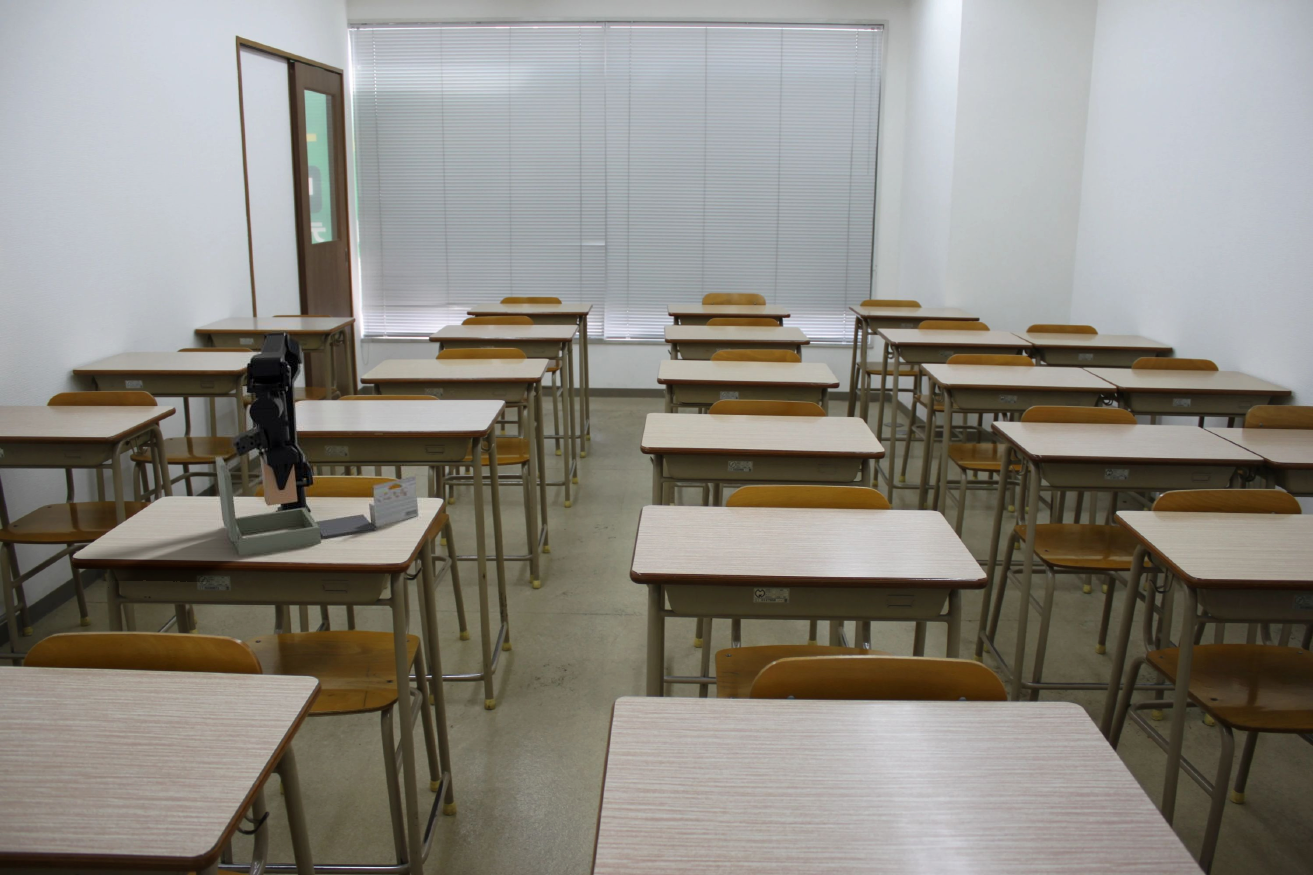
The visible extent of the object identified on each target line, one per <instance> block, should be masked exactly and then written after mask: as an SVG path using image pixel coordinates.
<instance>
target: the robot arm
mask: <svg viewBox="0 0 1313 875" xmlns="http://www.w3.org/2000/svg"><path fill="white" fill-rule="evenodd" d="M263 338H264V340H263V341H262V342H261V346H260V347H261V348H260V349H261V352H260V353H258V354H254V355H253V356H251V358H250V359H249V360H250V361H249V362H247V364H246V393H247V394H254V396H255V397H254V398H255V399H254V401H253V402H252V403H251V405H249V406H250V407H249V410H248V411H249V412H248V414H249V417H250V419H251V421H252V422H253V423H255V427H254V428H252V429H250V430H247V431H245V432H241V433H239V434H238V435H236V436H234V437H233V436H232V438H230V442H231V444H232V446H233V448H234V450H235V452H236V453H237V455H238V456H239V457H242V456H245V455H246V454H247V453H249V452H251V451H253V450H255V449H256V451H258V450H260V449H261V451H258V452H257V454H258V455H259V457H260V456H263V454H264V458H265V461H264V462H265V464H266V465H268V466H269V467H271V468H272V470H273V473H274V476H275V480H276V483H277V486H278V489H279V490H284V489H285V486H286V483H287V481H288V478H289V475H290V472H291V470H292V467H293V465H294V471H295V481H296V492H297V502H290V503H283V504H279V505H280V506H278V507H277V512H278V511H285V510H292V509H299V508H306V509H307V511H308V512H309V513H311V511H312V510H311V508H310V507H309V506H308V504H307V496H306V488H310V486H313V485H314V476H313V471H312V467H311V466H310V464H309V461H306V455H305V453H304V452H303V451H302V449H301V447H300V446H299V445H298V434H297V433H298V432H297V431H298V430H297V416H296V415H297V414H296V412H297V411H296V396H295V395H296V394H295V382H296V381H297V379H298V377H299V375H300V374H301V365H302V364H303V363H304V359H303V358H304V357H303V356H304V355H303V349H302V346H301V343H300V342H299V341H298V340H296V339H293V338H292V337H291V336H290V333H288V332H286V331H274V332H273V331H272V332H267V333H264V336H263Z"/></svg>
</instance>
